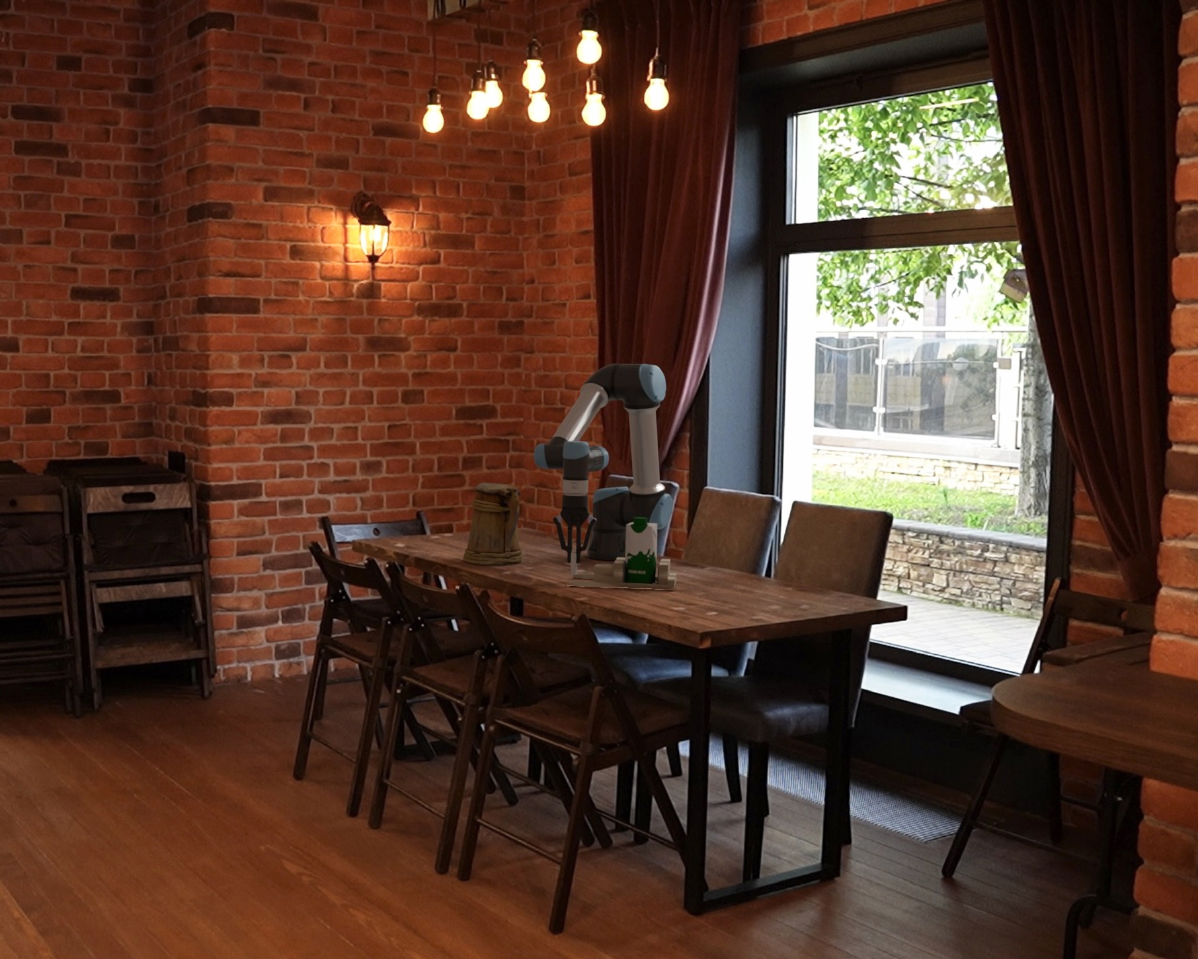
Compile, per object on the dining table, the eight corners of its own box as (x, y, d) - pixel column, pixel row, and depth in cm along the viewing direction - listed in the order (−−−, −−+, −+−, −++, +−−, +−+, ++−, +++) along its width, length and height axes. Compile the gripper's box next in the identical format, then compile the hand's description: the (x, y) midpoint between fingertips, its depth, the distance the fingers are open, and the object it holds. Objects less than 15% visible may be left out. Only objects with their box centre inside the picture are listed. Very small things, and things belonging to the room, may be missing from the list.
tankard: (498, 555, 450) (499, 480, 448) (542, 565, 433) (543, 486, 430) (452, 560, 438) (453, 482, 436) (496, 570, 421) (497, 489, 418)
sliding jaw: (596, 579, 406) (597, 556, 406) (627, 580, 405) (627, 557, 405) (592, 585, 394) (592, 562, 394) (623, 587, 393) (624, 563, 393)
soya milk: (622, 586, 396) (623, 517, 394) (629, 581, 404) (631, 514, 403) (651, 588, 393) (653, 519, 392) (658, 583, 402) (660, 516, 400)
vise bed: (573, 577, 409) (574, 554, 408) (676, 581, 406) (677, 558, 405) (567, 586, 393) (567, 562, 392) (674, 590, 390) (674, 566, 389)
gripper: (551, 494, 395) (550, 575, 398) (596, 496, 394) (594, 577, 396) (554, 492, 403) (553, 571, 405) (598, 493, 402) (597, 572, 404)
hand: (573, 574), depth 401 cm, fingers closed
